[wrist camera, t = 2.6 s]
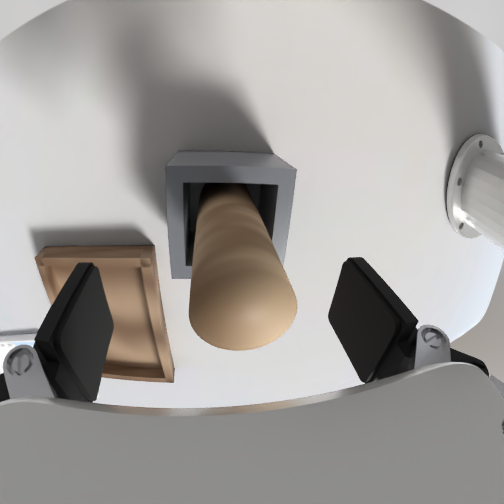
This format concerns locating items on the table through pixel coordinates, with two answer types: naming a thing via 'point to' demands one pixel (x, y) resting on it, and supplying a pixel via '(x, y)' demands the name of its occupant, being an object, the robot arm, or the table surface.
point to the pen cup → (225, 171)
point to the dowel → (237, 273)
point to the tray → (121, 305)
